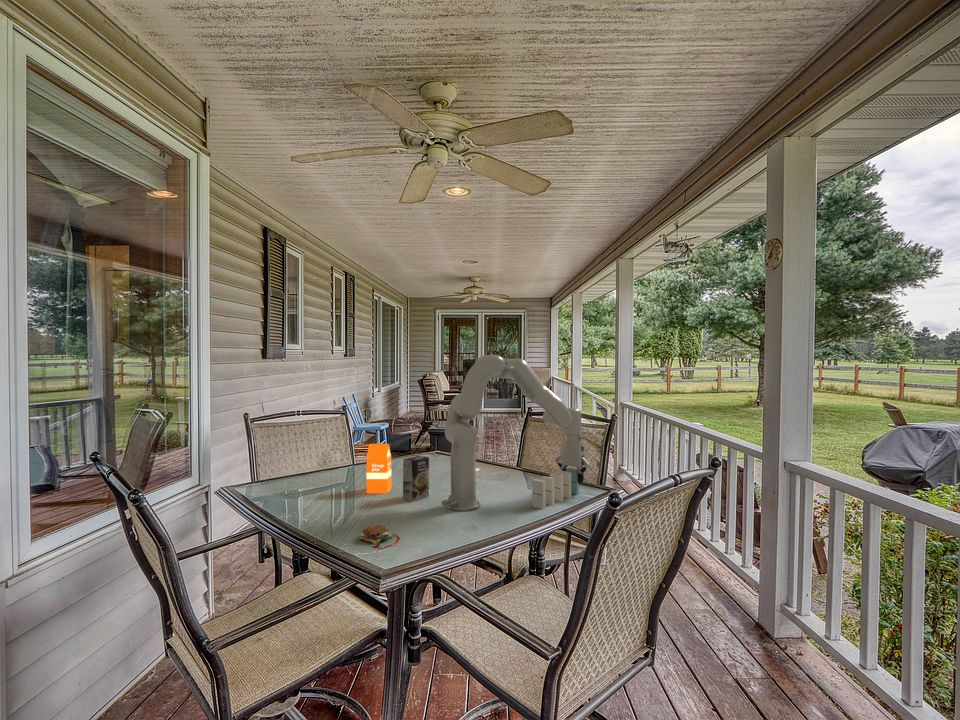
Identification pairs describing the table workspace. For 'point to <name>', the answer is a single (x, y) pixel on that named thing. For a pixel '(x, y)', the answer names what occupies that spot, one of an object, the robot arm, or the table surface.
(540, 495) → the domino
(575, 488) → the domino
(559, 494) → the domino
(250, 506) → the table surface
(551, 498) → the domino
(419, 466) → the coffee box
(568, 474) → the domino
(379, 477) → the orange juice
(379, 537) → the hamburger
